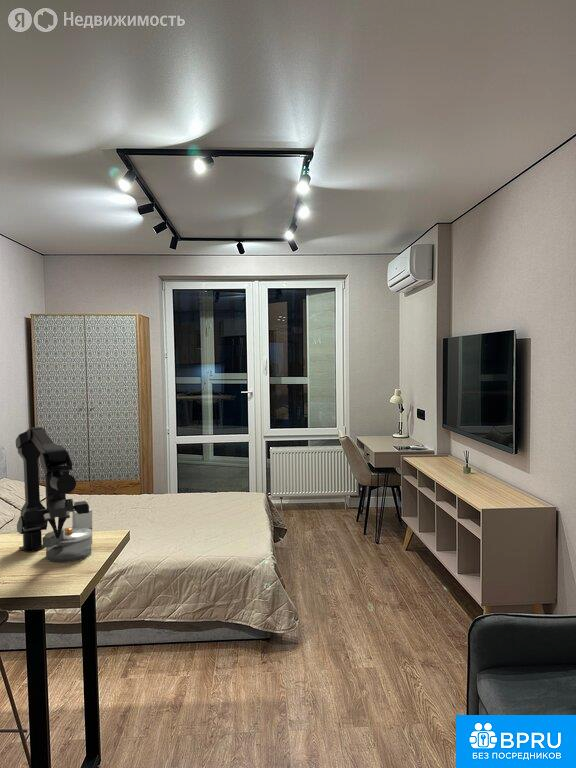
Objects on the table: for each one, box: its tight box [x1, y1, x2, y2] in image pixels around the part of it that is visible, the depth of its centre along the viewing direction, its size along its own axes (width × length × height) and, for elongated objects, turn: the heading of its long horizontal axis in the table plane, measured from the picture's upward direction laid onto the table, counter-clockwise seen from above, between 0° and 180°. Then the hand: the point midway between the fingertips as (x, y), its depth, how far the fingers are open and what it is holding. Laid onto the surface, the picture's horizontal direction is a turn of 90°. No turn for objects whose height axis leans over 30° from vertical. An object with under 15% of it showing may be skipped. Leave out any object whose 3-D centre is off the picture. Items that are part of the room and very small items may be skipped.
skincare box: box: [71, 507, 93, 545], centre depth 202 cm, size 6×4×12 cm
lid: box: [42, 527, 93, 548], centre depth 186 cm, size 21×15×4 cm
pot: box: [45, 537, 92, 564], centre depth 187 cm, size 20×14×6 cm
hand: (57, 538), depth 178 cm, fingers closed
